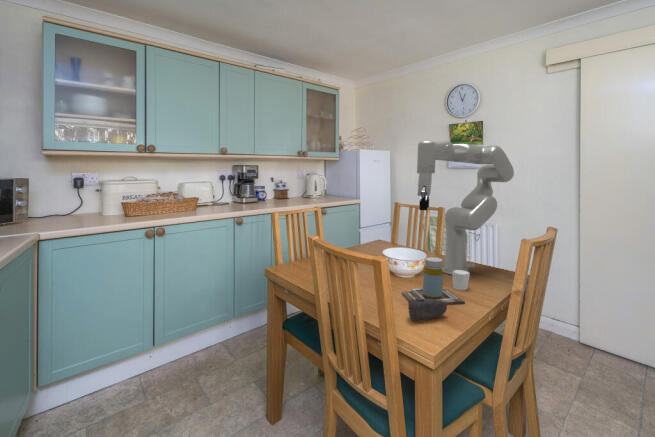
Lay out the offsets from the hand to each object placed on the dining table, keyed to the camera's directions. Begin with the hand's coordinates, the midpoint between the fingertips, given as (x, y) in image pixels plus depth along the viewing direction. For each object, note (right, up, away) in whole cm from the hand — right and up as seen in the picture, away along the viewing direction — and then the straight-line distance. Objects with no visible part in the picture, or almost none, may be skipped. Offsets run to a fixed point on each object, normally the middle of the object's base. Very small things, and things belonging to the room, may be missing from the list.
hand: (424, 208), depth 140 cm
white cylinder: (+13, -34, -7) cm, 37 cm away
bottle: (-3, -35, -19) cm, 40 cm away
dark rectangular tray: (-3, -36, -18) cm, 40 cm away
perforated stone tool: (-10, -38, -34) cm, 52 cm away
